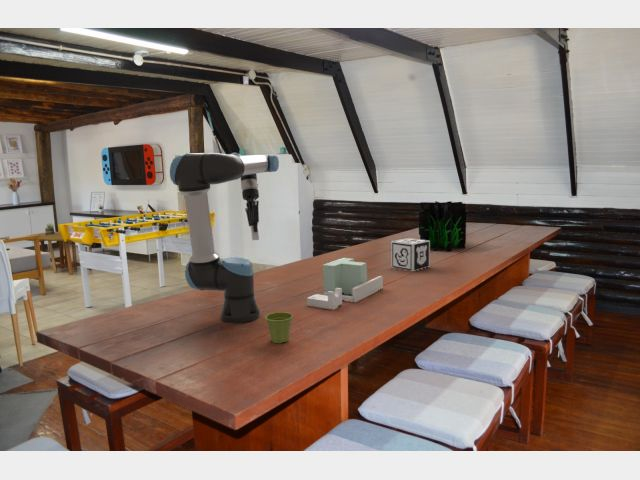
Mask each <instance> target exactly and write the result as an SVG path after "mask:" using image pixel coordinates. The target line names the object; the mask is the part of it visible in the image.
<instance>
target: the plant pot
mask: <svg viewBox="0 0 640 480" xmlns="http://www.w3.org/2000/svg"><path fill="white" fill-rule="evenodd" d="M293 318H294V317H293V314H292V313H290V312H285V311H283V312H282V311H279V312H271V313H268V314H267V315H266V316H264V319H265V321H266V322H267V325H268V332H269V336H270V340H271V342H272V343H274V344H282V343H287V342H288V341H290V333H291V322H292V319H293Z"/></svg>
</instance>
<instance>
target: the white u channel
mask: <svg viewBox="0 0 640 480" xmlns="http://www.w3.org/2000/svg"><path fill="white" fill-rule="evenodd" d="M383 281H384V279H383V275H379V276H376V277H374V278H373V279H370V280H367V282H365V283H363V284H361V285H359V286H356V287H354V288H352V295H347V294H342V301H343V300H344V301H345V302H349V301H350V303H357V302H360V301H361V300H363V299H365V298H367V297H369V296H371V295H373V294H375V293H377V292H378V290H379V291H381V290H383V289H382V288H384V287H383V285H384V284H383ZM380 289H381V290H380ZM323 295H326V296H328V293H324V292H323Z"/></svg>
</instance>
